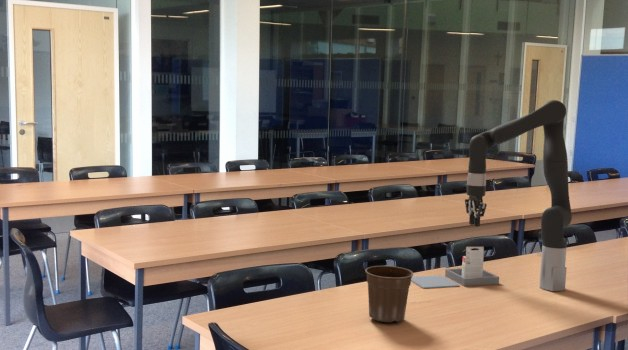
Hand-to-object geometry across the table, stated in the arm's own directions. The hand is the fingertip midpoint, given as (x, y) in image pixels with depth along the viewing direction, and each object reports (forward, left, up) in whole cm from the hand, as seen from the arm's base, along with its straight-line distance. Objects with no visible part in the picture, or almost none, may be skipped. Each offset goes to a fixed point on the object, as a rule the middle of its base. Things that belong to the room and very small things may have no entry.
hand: (474, 225), depth 291 cm
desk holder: (0, 0, -23) cm, 23 cm away
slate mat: (0, +18, -23) cm, 29 cm away
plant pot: (-38, +54, -23) cm, 70 cm away
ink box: (0, 0, -23) cm, 23 cm away
